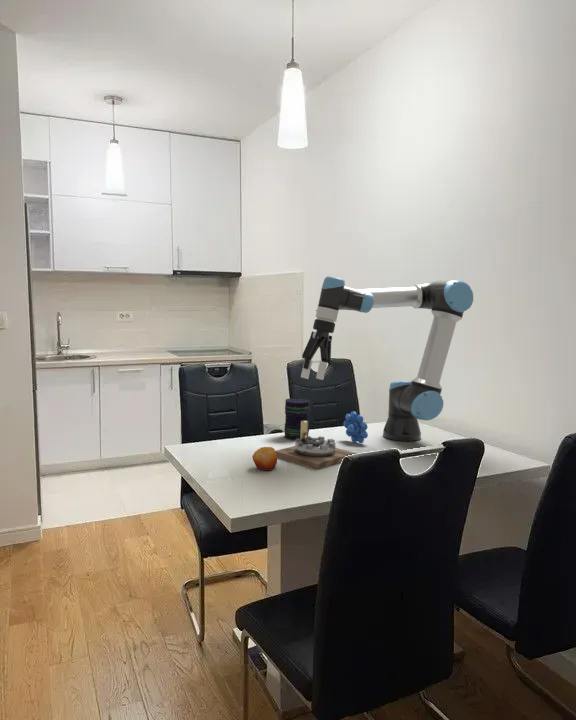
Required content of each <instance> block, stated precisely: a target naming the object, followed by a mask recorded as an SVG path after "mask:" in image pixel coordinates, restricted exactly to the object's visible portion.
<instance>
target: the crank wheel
mask: <svg viewBox="0 0 576 720" xmlns="http://www.w3.org/2000/svg"><path fill="white" fill-rule="evenodd" d="M308 424H309V421H301V437H300V438H297V439H296V440H295V442H294V443H295V444H294V446H295V452H297V453H298V454H301V455H305V456H313V457H323V456H330V455H333V454H335V448H337V446H336V444H337V443H336V442H335V439H333V438H327V440H325V436H321V435H320V436H318V437H312V436H311V435H308V436H307V430H308Z"/></svg>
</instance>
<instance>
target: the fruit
mask: <svg viewBox="0 0 576 720" xmlns="http://www.w3.org/2000/svg"><path fill="white" fill-rule="evenodd" d="M251 457H252V461H253V463H254V466H255V467H256V468H257V469H259V470H262V471H273V470H274V469H276V466H277V463H278V458H277V453H276V450H275V448H274V447H272V446H263V447H260V448H258V449H256V451H254V452H253V454H252V456H251Z"/></svg>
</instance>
